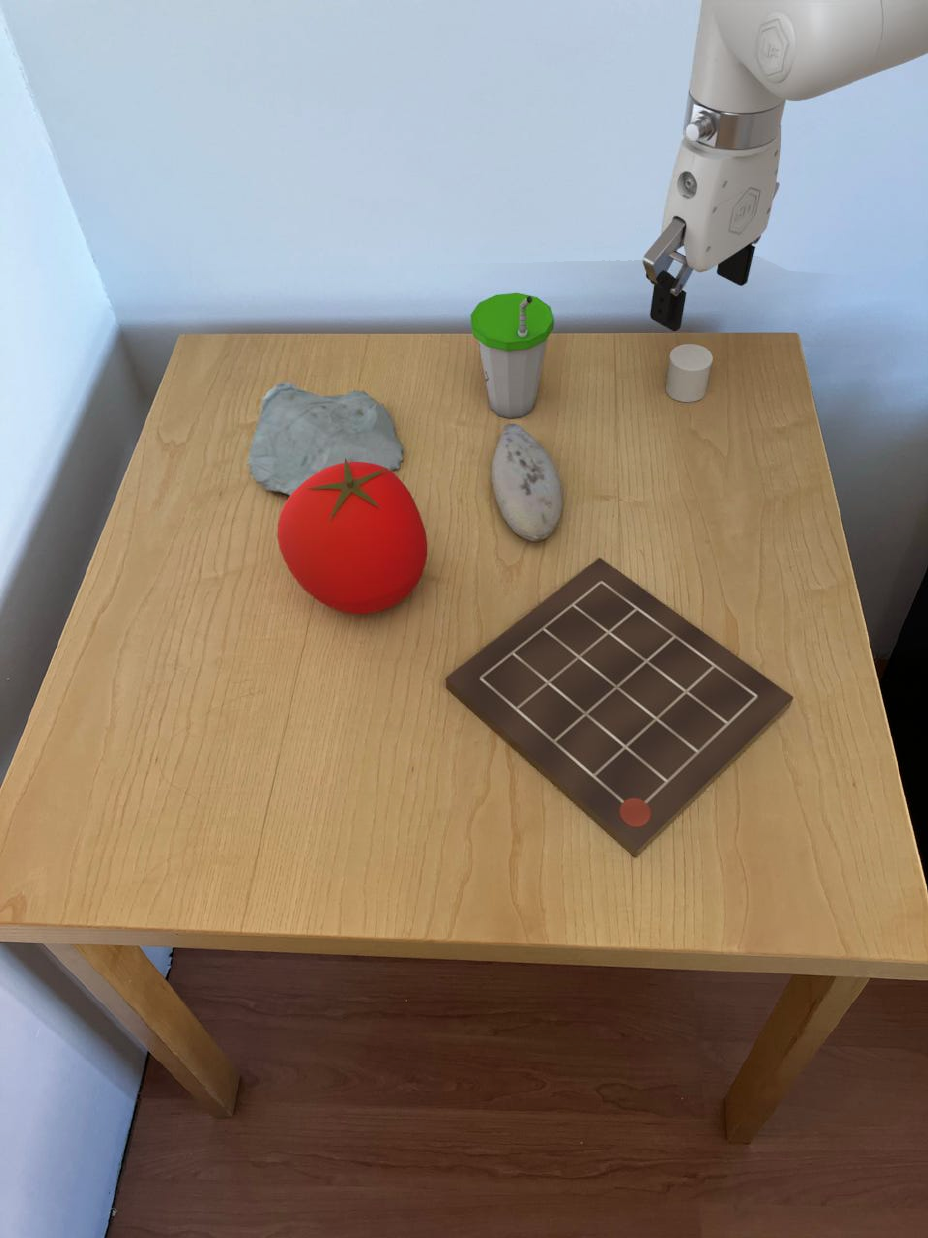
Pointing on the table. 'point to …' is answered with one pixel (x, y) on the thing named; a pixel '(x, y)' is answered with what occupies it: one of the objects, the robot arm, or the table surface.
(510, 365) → the cup
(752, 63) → the robot arm
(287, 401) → the stone
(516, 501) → the decorative stone
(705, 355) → the white canister
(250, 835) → the table surface
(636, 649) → the board
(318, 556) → the tomato
